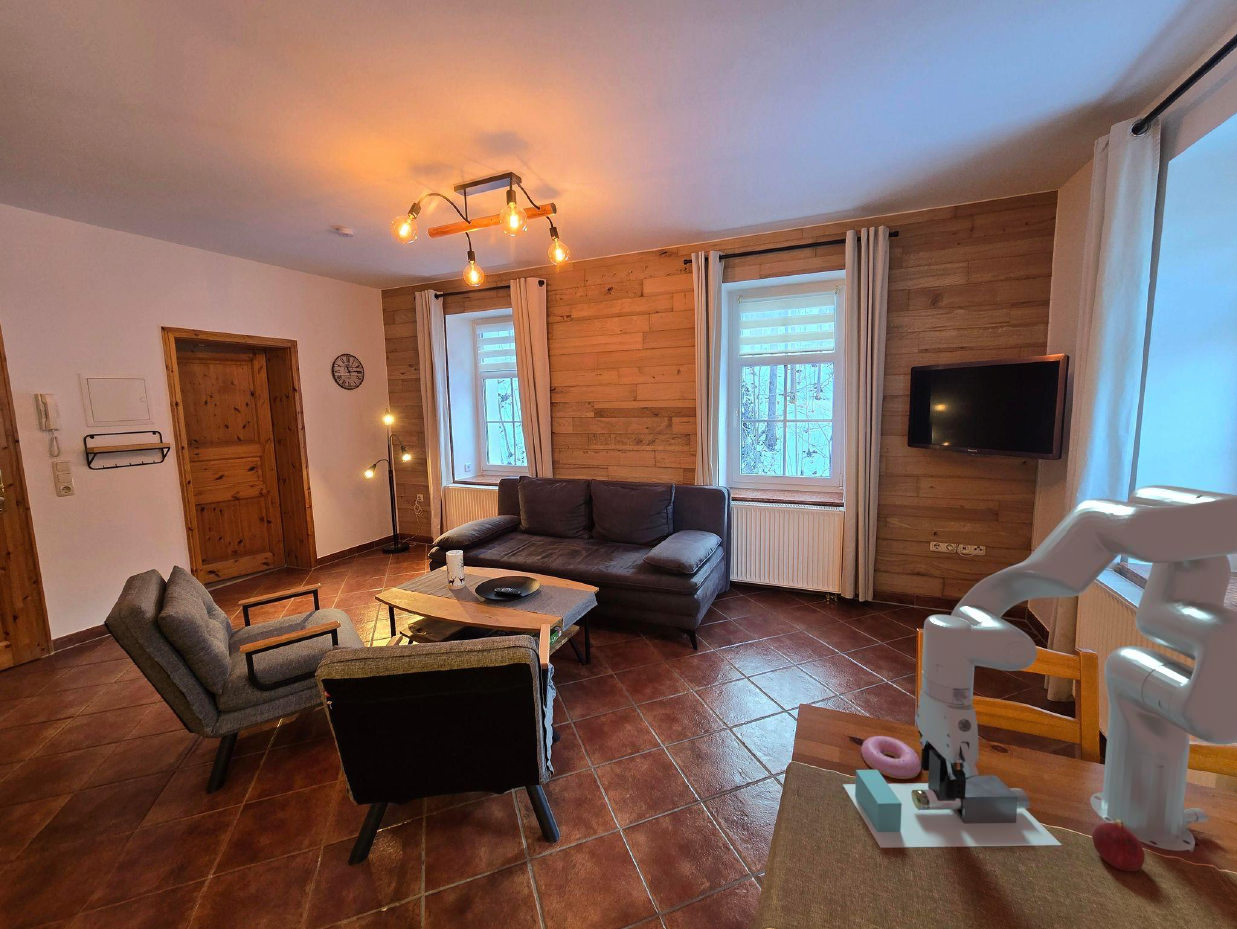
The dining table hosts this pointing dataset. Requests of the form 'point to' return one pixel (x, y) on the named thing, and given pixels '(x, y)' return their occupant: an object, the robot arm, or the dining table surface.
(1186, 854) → the dining table surface
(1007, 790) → the sleeve
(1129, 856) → the onion
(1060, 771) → the dining table surface
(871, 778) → the socket
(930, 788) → the silver bolt with handle
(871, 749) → the doughnut
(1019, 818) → the base board
